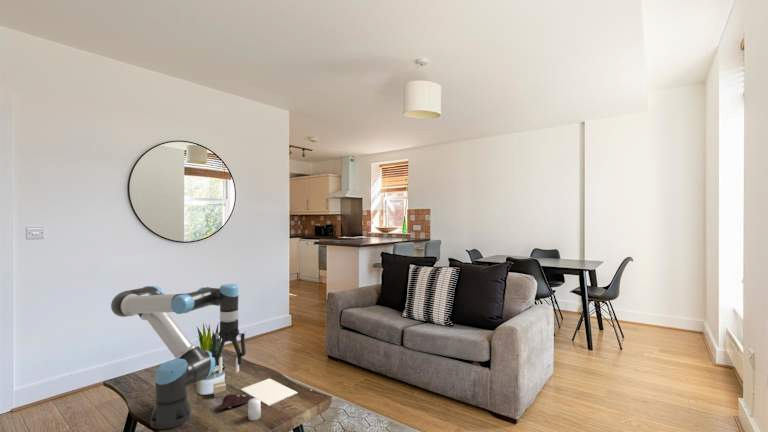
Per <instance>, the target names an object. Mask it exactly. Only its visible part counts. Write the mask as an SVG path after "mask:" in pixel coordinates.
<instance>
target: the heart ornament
mask: <svg viewBox="0 0 768 432" xmlns="http://www.w3.org/2000/svg"><path fill="white" fill-rule="evenodd" d="M250 399H252V396H250V395H248V394H246V393H242V394H238V392H235V393H226V395H225V396H223V398H222V401H221V403H220V404H221V405H220V410H223V409H227V408H228V409H231V408H233V407H236V406H239V405H244V404H246V403H248V401H249V400H250Z"/></svg>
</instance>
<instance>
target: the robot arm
mask: <svg viewBox="0 0 768 432" xmlns="http://www.w3.org/2000/svg"><path fill="white" fill-rule="evenodd" d="M239 295H240V293H239V286H238V284H236V283H225V284H222V285H220V286H219V288H218V287H210V286H209V287H208V286H205V287H200V288H199V289H197V290H195V291H191V292H188V293H187V292H186V293H168V294H166V292H165V291H164V289H162V288H161V287H159V286H156V285H148V286H147V285H146V286H144V287H141V288H140V287H139V288H135V289H129V290H124V291H121V292H119V293H118V294H117V295H115V296H114V298H113V299H112V301H111V302H110V309H111V312H112V313H113V314H114V315H116V316H117V317H121V318H126V317H133V316H136V315H138V317H140V319H141V320H142V321H147V322H148V324H150V326H151V327H152V329H153V330H154V332H155V333H156V334H157V335H158V337H159V338H160V339H161V341H162V342H163V344H164V345H165V346H166V347H167V349H168V350H169V352H170V353H171V354H172V356H173V357H174V358H175V359H173V360H171V359H170V360H168V361H166V362H164V363H162V364H160V365H159V366H158V368H156V370H155V377H154V381H155V384H154V385H155V389H154V390H155V405H154V408H153V411H152V413H151V415H150V420H149V422H150V427H151V428H152V429H155V430H167V429H173V428H176V427H179V426H181V425H183V424H185V423H187V422H188V421H189V420H190V419H191V418H192V415H193V414H192V413H193V411H192V406H191V405H190V402H189V399H188V389H189V387H192V386H194V385H195V384H198V383H199V382H201V381H203V380H206V379H207V378H208V377H209V376H211V375H212V374H213V372H214V371H215V369H216V366H217V367H218V374H219V375H222V372H223V356H221V355H222V352H223V349H224V347H225V344H226V343H227V342H230V343H232V345H233V347H234V350H235V353H236V357H235V374H238V373H239V372H240V365H241V364H242V357H244V356H245V355H246V354H247V349H246V339H245V337H246V332H245V331H244V332H243V331H240V330H239ZM210 306H216V307H217V306H218V307H219V331H218V332H217V333H215V332H214V333H213V334H212V349H211V351H210V350H203V349H202V348H201V347H200V346H199V345H194V344H193V342H191V340H190V339H189V338H188V336H187V335H186V334H185V332H184V331H183V329H181V327H180V326H179V325H178V323H177V322H176V320H175V319H174V318H173V316H172V315H171V314H170V313H175V314H177V315H182V314H188V313H190V312H192V311H195V310H198V309H203V308H206V307H210ZM238 336H239V338H240V344H239V343H238V339H237V337H238ZM219 337H220V339H221V343H220V345H219V348H218V338H219ZM239 345H240V346H239ZM217 349H218V351H217Z"/></svg>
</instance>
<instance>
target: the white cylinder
mask: <svg viewBox="0 0 768 432" xmlns="http://www.w3.org/2000/svg"><path fill="white" fill-rule="evenodd" d="M261 405H262V402H261V399H260V398H253V397H252V398H251V399H250V400H249V401H248V402H247V406H248V407H247V408H248V409H247V411H248V414H247V415H248V418H247V419H248V420H249V421H257V420H259V419H261V417H262V409H261V407H262V406H261Z"/></svg>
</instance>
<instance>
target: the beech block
mask: <svg viewBox="0 0 768 432" xmlns="http://www.w3.org/2000/svg"><path fill="white" fill-rule="evenodd" d="M225 395H227V385H226V381H225V380H223V381H218V382H213V398H214V399H215V398H220V397H224V396H225Z"/></svg>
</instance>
